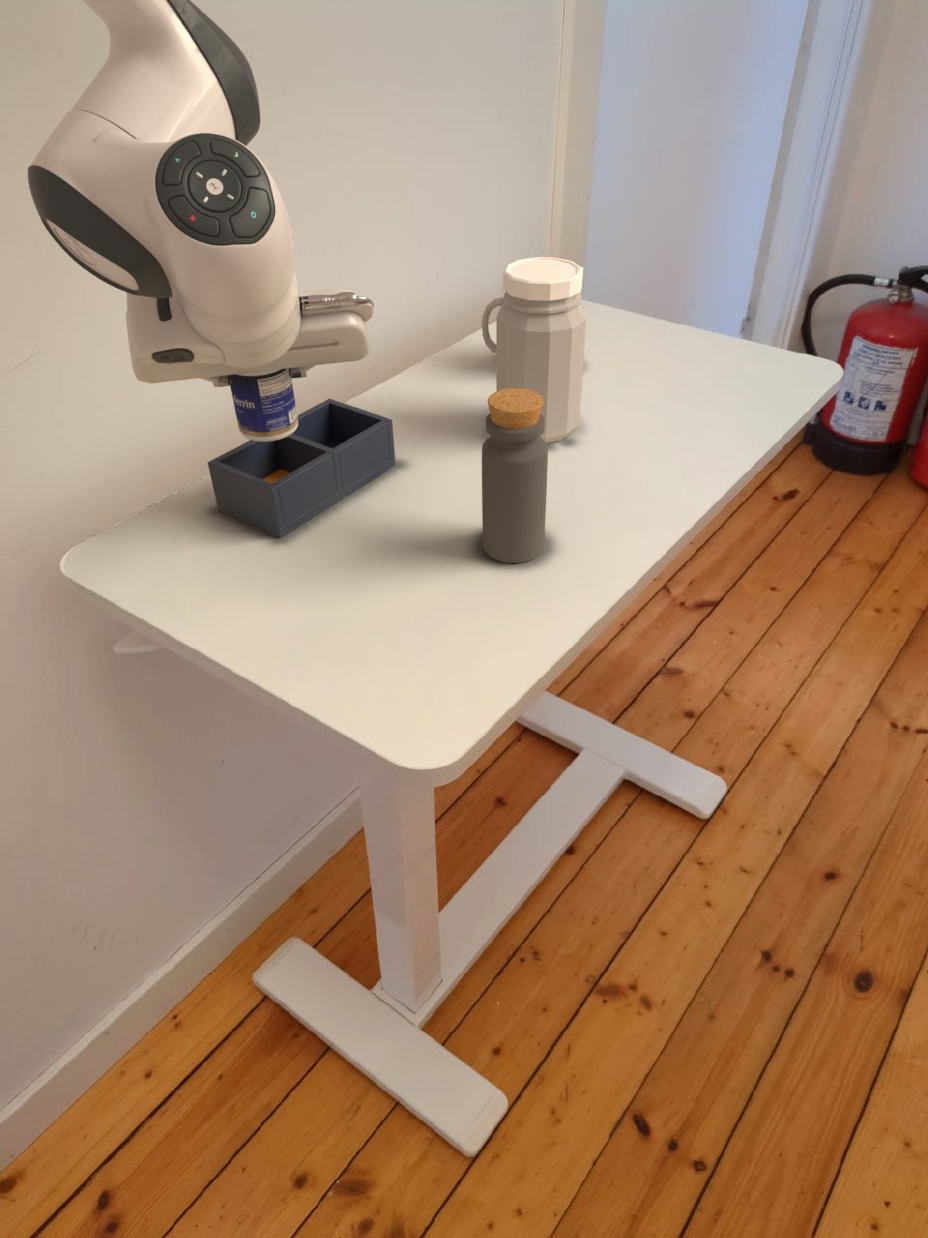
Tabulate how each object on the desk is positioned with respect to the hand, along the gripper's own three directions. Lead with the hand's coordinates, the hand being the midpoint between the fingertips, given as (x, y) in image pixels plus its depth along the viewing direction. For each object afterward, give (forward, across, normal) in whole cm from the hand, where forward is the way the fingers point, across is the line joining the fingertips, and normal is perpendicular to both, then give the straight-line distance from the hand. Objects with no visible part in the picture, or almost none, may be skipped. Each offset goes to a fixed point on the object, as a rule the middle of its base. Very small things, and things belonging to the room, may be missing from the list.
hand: (259, 374), depth 84 cm
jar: (+16, -30, +4) cm, 34 cm away
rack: (+11, -3, +8) cm, 14 cm away
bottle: (0, -21, +20) cm, 29 cm away
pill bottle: (+4, 0, +4) cm, 6 cm away
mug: (+29, -34, -9) cm, 46 cm away
